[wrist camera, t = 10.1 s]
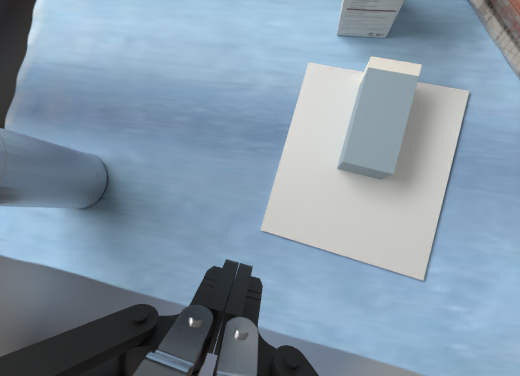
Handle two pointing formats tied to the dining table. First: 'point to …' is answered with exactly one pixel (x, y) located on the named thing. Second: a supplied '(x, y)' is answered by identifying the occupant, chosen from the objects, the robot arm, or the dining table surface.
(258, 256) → the dining table surface
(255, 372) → the robot arm
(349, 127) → the block
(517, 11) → the packaged product
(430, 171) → the mat
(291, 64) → the dining table surface
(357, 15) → the supplement box
